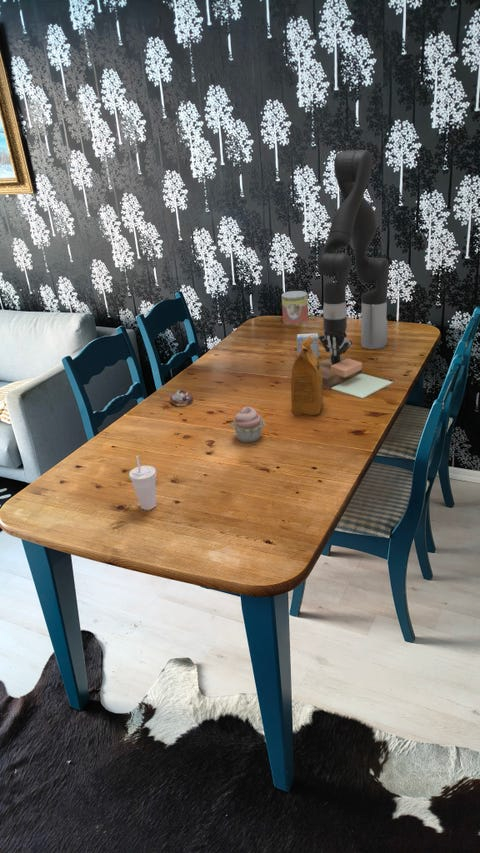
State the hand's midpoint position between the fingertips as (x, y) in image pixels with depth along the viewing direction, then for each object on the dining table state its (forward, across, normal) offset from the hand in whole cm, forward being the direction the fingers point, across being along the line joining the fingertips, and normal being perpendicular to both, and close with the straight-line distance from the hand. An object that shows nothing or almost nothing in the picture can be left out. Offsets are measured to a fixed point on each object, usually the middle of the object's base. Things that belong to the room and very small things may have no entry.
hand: (335, 364), depth 210 cm
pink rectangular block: (+1, -4, 0) cm, 5 cm away
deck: (+5, +2, 0) cm, 5 cm away
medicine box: (+5, +22, -10) cm, 25 cm away
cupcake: (+5, -10, +49) cm, 50 cm away
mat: (+5, -11, 0) cm, 12 cm away
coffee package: (+5, -9, +24) cm, 26 cm away
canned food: (+5, +58, -41) cm, 71 cm away
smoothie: (+5, -17, +89) cm, 90 cm away
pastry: (+6, +27, +46) cm, 54 cm away
